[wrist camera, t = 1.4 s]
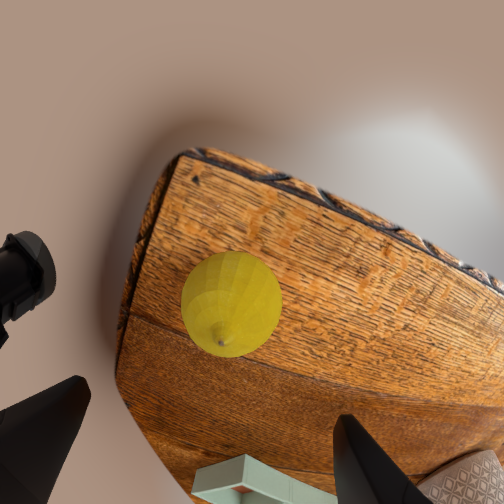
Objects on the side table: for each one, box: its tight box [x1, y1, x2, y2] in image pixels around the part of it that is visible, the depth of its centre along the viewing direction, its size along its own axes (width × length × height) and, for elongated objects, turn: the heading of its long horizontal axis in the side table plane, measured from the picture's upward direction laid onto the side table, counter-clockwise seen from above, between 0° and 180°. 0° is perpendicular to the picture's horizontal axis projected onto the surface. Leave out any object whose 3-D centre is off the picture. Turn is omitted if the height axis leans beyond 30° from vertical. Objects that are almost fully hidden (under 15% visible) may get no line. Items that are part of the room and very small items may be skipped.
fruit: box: [181, 251, 283, 357], centre depth 16 cm, size 6×6×8 cm
